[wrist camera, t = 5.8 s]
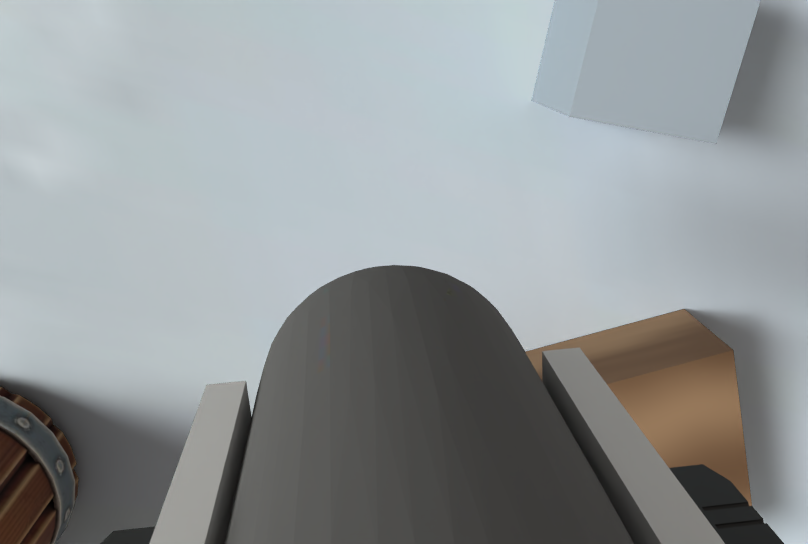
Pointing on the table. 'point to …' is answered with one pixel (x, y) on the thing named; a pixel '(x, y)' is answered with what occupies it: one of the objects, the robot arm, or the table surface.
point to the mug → (33, 474)
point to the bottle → (410, 427)
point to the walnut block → (673, 389)
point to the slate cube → (645, 62)
